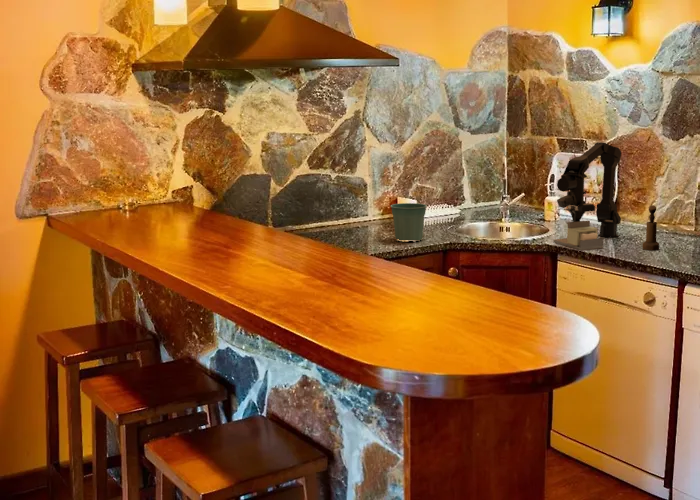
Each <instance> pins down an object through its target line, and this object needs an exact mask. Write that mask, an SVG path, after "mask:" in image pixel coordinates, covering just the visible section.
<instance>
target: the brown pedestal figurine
mask: <svg viewBox="0 0 700 500" xmlns="http://www.w3.org/2000/svg"><path fill="white" fill-rule="evenodd" d="M648 211H649V216H648V218H649V221H646V232H645V233H646V235H645V240H644V241H643V242H642V250H646V251H659V250H660V243H659V242H658V240H657V230H658V229H657V228H658V227H657V225H658V222H657V221H655V219H656V216H655V214H656V211H657V206H656V205H649V206H648Z"/></svg>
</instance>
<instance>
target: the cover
mask: <svg viewBox="0 0 700 500" xmlns="http://www.w3.org/2000/svg"><path fill="white" fill-rule="evenodd" d="M598 230H599V229H598V227H593V226H591V221H590V220H580V221H577V222H573V221H569V222H567V231H566V232H567V233H566V234H567V235H566V238H567V243H570V244H574V245H578V243H579V232H586V231H589V232H593V233H597V237H599V235H598V234H599V233H598Z"/></svg>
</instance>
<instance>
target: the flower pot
mask: <svg viewBox="0 0 700 500" xmlns="http://www.w3.org/2000/svg"><path fill="white" fill-rule="evenodd" d="M427 207H428V205H427V204H424V203H417V202H415V203H414V202H408V203H407V202H404V203H403V202H402V203H393V204H391V205H390V208H391V214H392V216H393V217H392V218H393V227H394V228H393V229H394V239H395V238H396V239H399V240H421V239H422V240H423V237H424V235H423V234H424V233H423V232H424V225H425V223H424V222H425V215H426V211H427Z"/></svg>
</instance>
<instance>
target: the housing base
mask: <svg viewBox="0 0 700 500" xmlns="http://www.w3.org/2000/svg"><path fill="white" fill-rule="evenodd" d="M604 239H605V237H602V238H601V237H600V238H597V239H589V240H580V245H574V244H570V243H567V237H566V238H565V237H564V238H555V239H553V243H554V242H555V243H554V244H557V243H558V245H561V246H564V247H567V248H570V249H573V250H578V251H586V250H587V251H589V250H598V249H603V248H604V242H605V241H604Z"/></svg>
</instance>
